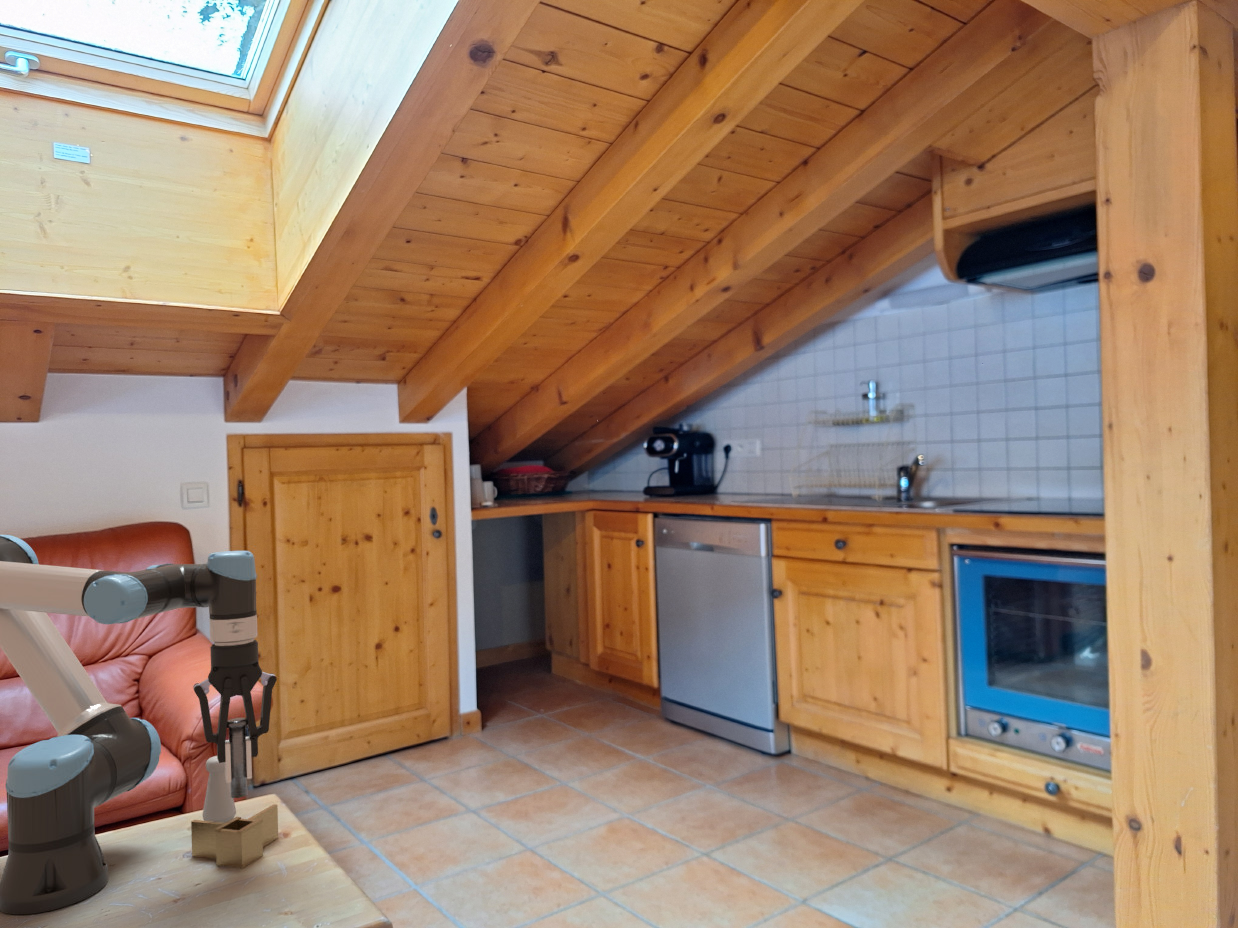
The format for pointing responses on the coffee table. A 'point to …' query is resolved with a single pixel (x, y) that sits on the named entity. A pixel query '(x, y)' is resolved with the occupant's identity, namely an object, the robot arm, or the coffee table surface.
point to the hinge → (235, 838)
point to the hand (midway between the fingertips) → (238, 777)
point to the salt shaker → (218, 794)
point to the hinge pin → (238, 756)
